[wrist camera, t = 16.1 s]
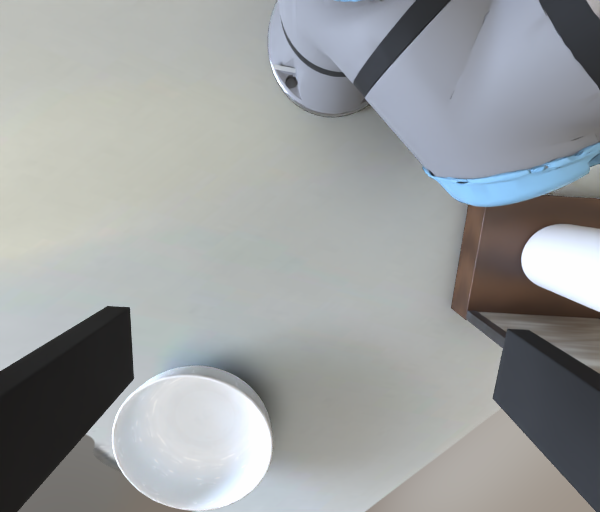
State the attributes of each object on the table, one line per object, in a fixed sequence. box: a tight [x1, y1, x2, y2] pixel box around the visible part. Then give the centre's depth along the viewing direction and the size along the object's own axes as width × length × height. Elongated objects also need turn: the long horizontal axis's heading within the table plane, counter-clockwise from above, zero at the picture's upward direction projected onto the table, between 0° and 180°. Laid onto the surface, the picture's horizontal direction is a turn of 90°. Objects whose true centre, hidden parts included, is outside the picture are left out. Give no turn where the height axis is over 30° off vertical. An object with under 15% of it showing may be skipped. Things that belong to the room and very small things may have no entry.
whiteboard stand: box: [451, 195, 600, 374], centre depth 33 cm, size 16×18×19 cm
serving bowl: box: [112, 366, 273, 511], centre depth 44 cm, size 21×21×7 cm
